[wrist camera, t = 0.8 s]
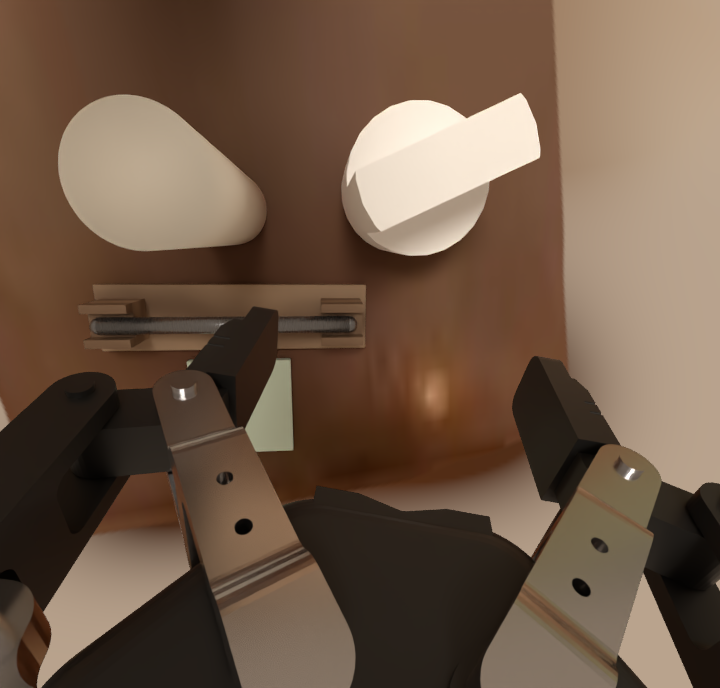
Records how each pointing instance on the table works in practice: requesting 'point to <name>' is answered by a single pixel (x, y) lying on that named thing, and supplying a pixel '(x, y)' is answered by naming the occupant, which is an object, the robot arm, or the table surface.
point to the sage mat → (273, 412)
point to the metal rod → (215, 325)
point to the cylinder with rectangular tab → (431, 171)
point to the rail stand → (224, 311)
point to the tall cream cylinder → (154, 179)
